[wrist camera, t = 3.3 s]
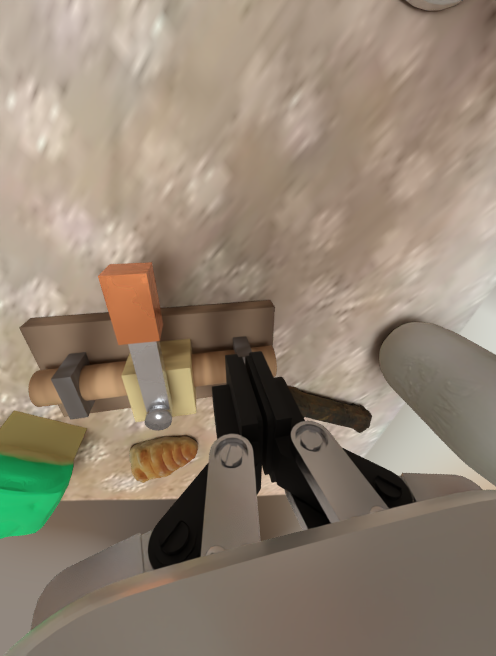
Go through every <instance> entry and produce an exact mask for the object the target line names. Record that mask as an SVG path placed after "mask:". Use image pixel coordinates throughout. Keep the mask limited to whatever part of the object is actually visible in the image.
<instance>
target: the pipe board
mask: <svg viewBox="0 0 496 656" xmlns="http://www.w3.org/2000/svg"><path fill="white" fill-rule="evenodd" d="M160 310H161V315H162V320H163V327H162V333H161V338H160V346H161V351H162V356H163V361H164V366H165V371H166V376H167V381H168V386H169V391H170V395H171V401H172V406H173V408H172V417H174V416H181V415H188V414H195V413H196V399H198V398H205V397H212V386H219V385H226V367H225V355H231V354H237V355H238V357H241V356H242V357H243V360H244V363H245V356H249V353H250V352H256V351H262V353H263V355H264V357H265V359H266V361H267V364H268V366H269V368H270V370H271V372H272V375H273V377H275V376H276V372H277V364H276V356H275V352H274V349H273V347H272V345H273V328H274V312H275V307H274V305H273V304H272V302H271V301H270V300H264V301H251V302H238V303H225V304H212V305H199V306H185V307H172V308H160ZM20 330H21V332H22V334H23V336H24V338H25V340H26V342H27V344H28V346H29V348H30V350H31V352H32V354H33V356H34V358H35V360H36V362H37V364H38V366H39V368H40V370H39V371H36V372H35V373H34V374H33V376H32V377H31V379H30V382H29V397H30V400H31V402H32V403H33V404H34V405H35V406H37V407H42V406H50V405H57V404H58V406H59V408H60V410H61V411H62V413H63V415H64V417H66V416H69V417H70V419H77V418H84V417H88V416H89V413H95V412H102V411H110V410H117V409H124V408H132V411H133V415H134V418H135V421H136V422H140V421H145V418H146V413H147V412H146V408H145V405H144V401H143V397H142V394H141V390H140V386H139V383H138V379H137V375H136V372H135V368H134V364H133V361H132V357H131V354H130V350H129V346H128V344H124V345H118V342H117V339H116V335H115V332H114V328H113V325H112V322H111V318H110V315H109V312H107V313H93V314H80V315H67V316H54V317H41V318H30V319H29V320H28V321H27V322H26V323H24V324H23V325H22V326H21V327H20Z"/></svg>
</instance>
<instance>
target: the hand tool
mask: <svg viewBox="0 0 496 656" xmlns="http://www.w3.org/2000/svg"><path fill="white" fill-rule="evenodd" d="M288 388H289V390H290V392H291V394H292V396H293V398H294V400H295V402H296V404H297V406H298V408H299V410H300V412H301V414H302V416H303V418H304V417H308V418H312V419H315V420H319V421H323V422H328V423H332V424H336V425H340V426H345V427H349V428H353V429H354V430H356V431H357V432H359V433H361V432H363V431H364V430H366V429H367V428H369V426H370V421H371V418H372V415H371V413H370V412H369V411H368V410H366V409H365V408H364V407H363V406H361V405H360V406H356V405H355V404H352V405H348V404H345V403H339V402H336V401H333V400H332V399H325V398H323V397H317V396H314V395H310V394H306V393H303V392H301V391H300V390H298V389H297V388H296V387H291V386H288Z"/></svg>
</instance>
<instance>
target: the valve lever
mask: <svg viewBox="0 0 496 656" xmlns="http://www.w3.org/2000/svg"><path fill="white" fill-rule="evenodd" d="M98 278H99V281H100V284H101V288H102V291H103V295H104V298H105V301H106V305H107V308H108V312H109V315H110V318H111V322H112V325H113V328H114V332H115V335H116V339H117V342H118V345H124V344H128V346H129V350H130V354H131V357H132V361H133V364H134V368H135V372H136V375H137V379H138V383H139V386H140V390H141V394H142V397H143V401H144V405H145V408H146V412H147V413H146V418H145V425H146V426H147V427H148V428H150V429H152V430H163V429H166V428H167V427H169V426H170V425H171V422H172V408H173V406H172V401H171V395H170V391H169V386H168V381H167V376H166V371H165V366H164V361H163V356H162V351H161V346H160V338H161V333H162V327H163V320H162V315H161V310H160V304H159V299H158V293H157V288H156V282H155V277H154V271H153V266H152V262H151V263H129V264H110V265H109V266H108V267H107V268H106V269H105V270H104V271H103V272H102V273H101V274H100V275H99V276H98Z"/></svg>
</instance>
